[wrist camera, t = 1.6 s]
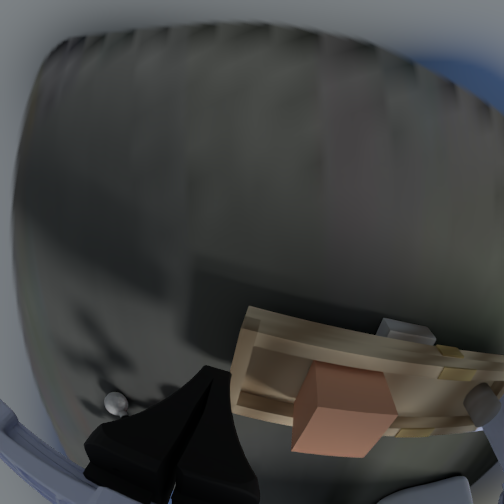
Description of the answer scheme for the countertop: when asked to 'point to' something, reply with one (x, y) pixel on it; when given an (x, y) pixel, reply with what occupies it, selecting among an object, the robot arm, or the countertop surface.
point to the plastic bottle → (434, 493)
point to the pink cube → (341, 411)
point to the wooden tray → (371, 358)
